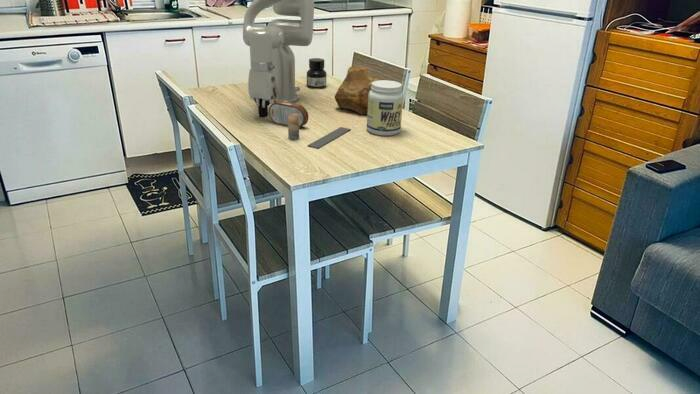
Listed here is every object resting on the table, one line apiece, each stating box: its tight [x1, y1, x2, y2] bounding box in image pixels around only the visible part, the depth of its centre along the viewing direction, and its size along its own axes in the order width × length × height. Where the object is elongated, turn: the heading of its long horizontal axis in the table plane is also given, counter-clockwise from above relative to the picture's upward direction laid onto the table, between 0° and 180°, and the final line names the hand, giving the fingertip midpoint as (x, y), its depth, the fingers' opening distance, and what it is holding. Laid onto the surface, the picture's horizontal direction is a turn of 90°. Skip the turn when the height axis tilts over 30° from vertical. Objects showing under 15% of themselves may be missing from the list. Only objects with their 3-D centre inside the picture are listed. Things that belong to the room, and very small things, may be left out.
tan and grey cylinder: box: [287, 114, 300, 141], centre depth 177 cm, size 4×4×8 cm
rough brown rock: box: [334, 66, 381, 116], centre depth 208 cm, size 23×17×15 cm
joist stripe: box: [307, 126, 352, 150], centre depth 180 cm, size 22×4×1 cm, turn 152°
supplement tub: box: [366, 79, 404, 137], centre depth 185 cm, size 12×12×17 cm
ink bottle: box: [306, 57, 328, 89], centre depth 237 cm, size 10×9×12 cm
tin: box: [268, 100, 309, 129], centre depth 188 cm, size 15×3×8 cm, turn 65°
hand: (263, 116), depth 194 cm, fingers closed
